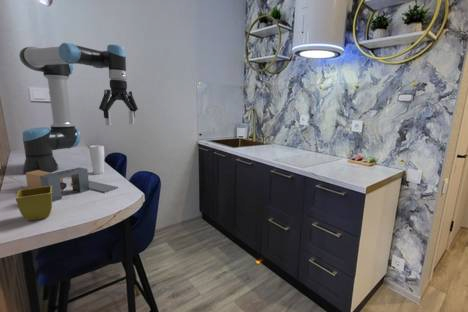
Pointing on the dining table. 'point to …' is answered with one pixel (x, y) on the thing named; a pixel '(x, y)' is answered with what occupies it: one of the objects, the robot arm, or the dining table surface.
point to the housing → (77, 175)
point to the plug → (35, 180)
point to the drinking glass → (97, 158)
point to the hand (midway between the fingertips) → (120, 124)
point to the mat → (100, 187)
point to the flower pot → (35, 202)
